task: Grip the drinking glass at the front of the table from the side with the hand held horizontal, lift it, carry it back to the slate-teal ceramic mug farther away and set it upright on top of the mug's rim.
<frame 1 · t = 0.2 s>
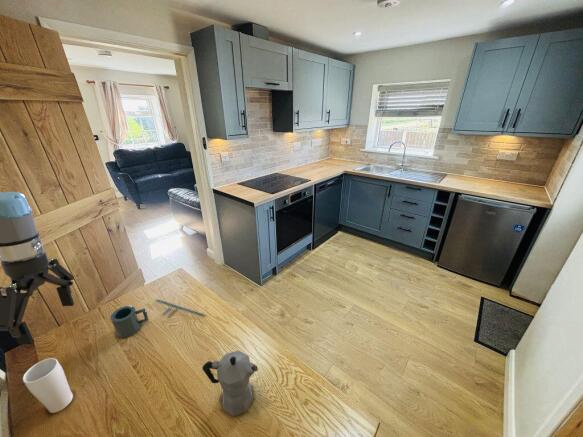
hand: (49, 322, 66), 24 cm above the table, tool pointing down, fingers open, 13 cm apart
coffeepot: (234, 399, 70), on the table
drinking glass: (62, 404, 68), on the table
mug: (129, 330, 91), on the table
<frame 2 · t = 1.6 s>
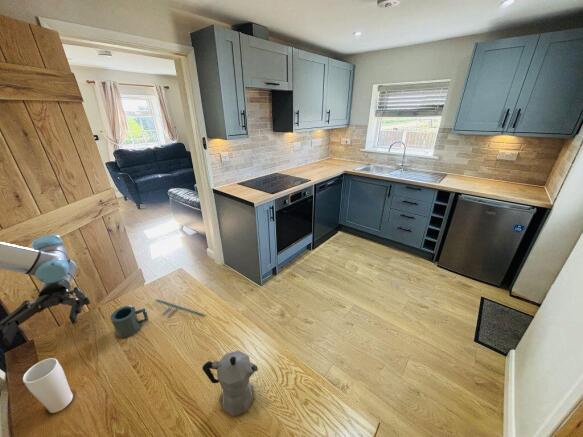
hand: (41, 330, 67), 20 cm above the table, tool horizontal, fingers open, 13 cm apart
nothing on the table moved.
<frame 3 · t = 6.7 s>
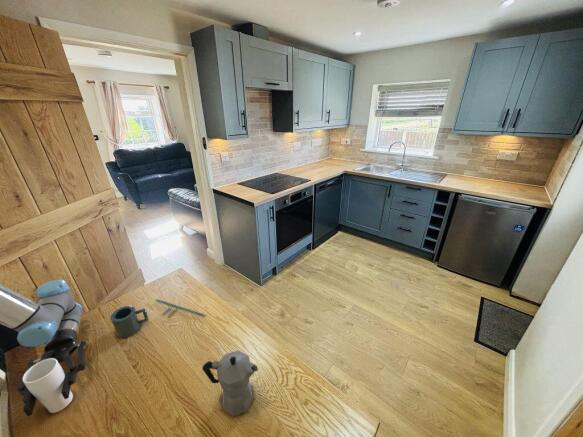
hand: (46, 403, 61), 8 cm above the table, tool horizontal, fingers closed on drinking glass, 6 cm apart
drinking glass: (62, 404, 68), on the table, touching gripper
everything else where it was.
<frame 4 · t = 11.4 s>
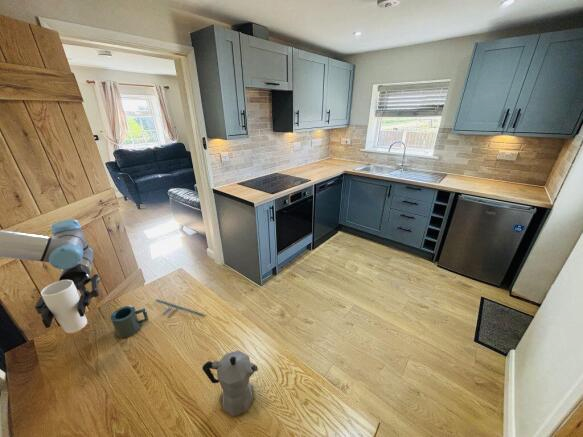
hand: (63, 318, 64), 26 cm above the table, tool horizontal, fingers closed on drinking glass, 6 cm apart
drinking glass: (77, 327, 71), point 18 cm above the table, touching gripper
everything else where it was.
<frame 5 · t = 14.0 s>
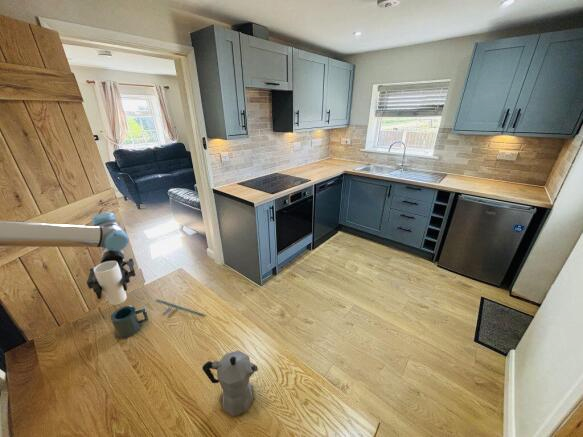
hand: (111, 291, 78), 23 cm above the table, tool horizontal, fingers closed on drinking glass, 6 cm apart
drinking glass: (118, 301, 85), point 15 cm above the table, touching gripper
everything else where it was.
when the fingers open (17 cm above the table, at t = 16.1 s): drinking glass stays where it is, resting on mug.
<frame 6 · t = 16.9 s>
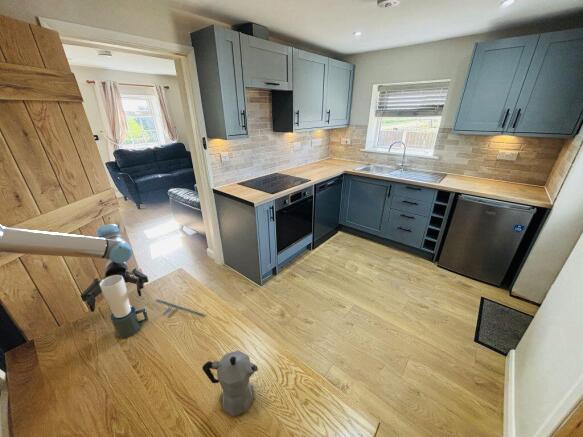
hand: (116, 300, 82), 18 cm above the table, tool horizontal, fingers open, 13 cm apart
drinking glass: (123, 313, 88), point 9 cm above the table, touching mug
everything else where it was.
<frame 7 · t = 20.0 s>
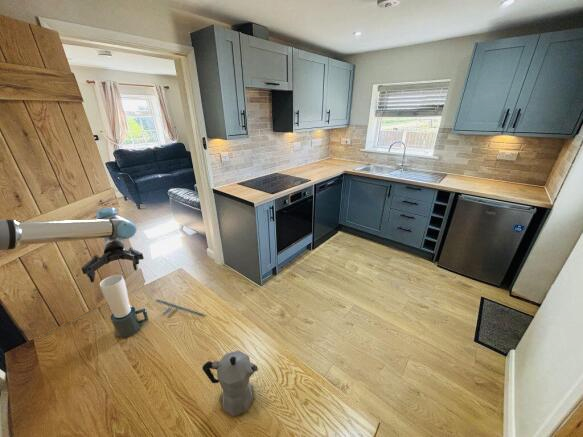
hand: (114, 273, 90), 21 cm above the table, tool horizontal, fingers open, 13 cm apart
nothing on the table moved.
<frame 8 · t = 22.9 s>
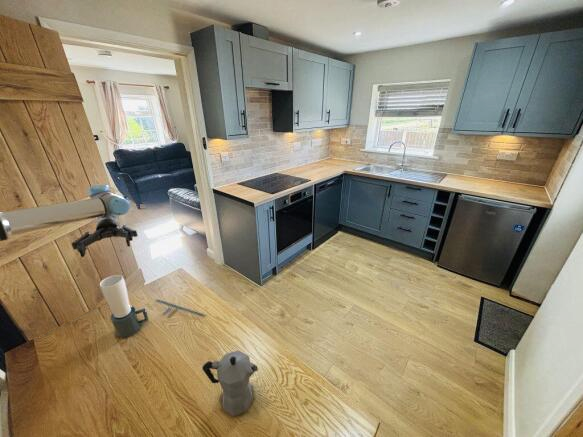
hand: (105, 248, 86), 32 cm above the table, tool horizontal, fingers open, 13 cm apart
nothing on the table moved.
at the end: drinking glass 0.0 cm off-centre on the mug, point 8.8 cm above the mug's base; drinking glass tilted 0°; the gripper is holding nothing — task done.
